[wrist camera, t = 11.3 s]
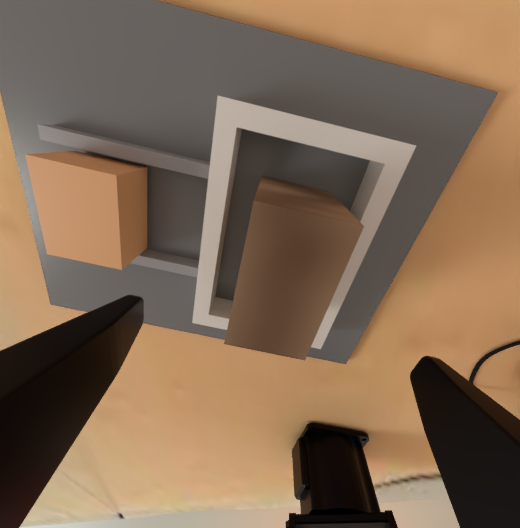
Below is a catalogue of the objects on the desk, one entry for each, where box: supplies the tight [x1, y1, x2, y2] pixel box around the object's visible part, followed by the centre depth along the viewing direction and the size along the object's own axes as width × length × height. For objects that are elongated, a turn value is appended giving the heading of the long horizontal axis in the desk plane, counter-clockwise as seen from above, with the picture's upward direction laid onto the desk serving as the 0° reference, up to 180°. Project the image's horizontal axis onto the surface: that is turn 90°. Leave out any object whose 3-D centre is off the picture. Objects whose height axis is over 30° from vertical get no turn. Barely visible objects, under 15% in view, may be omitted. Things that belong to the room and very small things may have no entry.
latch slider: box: [25, 151, 147, 270], centre depth 13 cm, size 4×5×3 cm
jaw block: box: [224, 176, 364, 360], centre depth 13 cm, size 4×7×6 cm, turn 167°
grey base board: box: [0, 0, 498, 364], centre depth 15 cm, size 24×19×2 cm
